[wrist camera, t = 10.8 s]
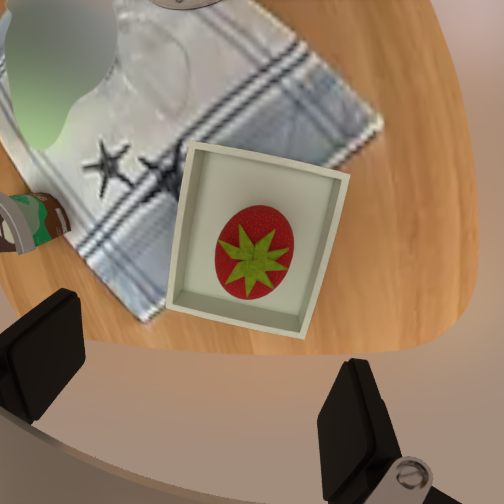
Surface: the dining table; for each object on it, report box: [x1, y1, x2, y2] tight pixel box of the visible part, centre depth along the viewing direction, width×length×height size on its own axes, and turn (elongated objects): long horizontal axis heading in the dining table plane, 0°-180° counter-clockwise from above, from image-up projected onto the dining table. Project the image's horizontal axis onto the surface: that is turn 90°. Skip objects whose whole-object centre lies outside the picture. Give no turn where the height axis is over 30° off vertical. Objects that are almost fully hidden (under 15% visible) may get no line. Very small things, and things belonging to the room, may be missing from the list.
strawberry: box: [215, 205, 294, 300], centre depth 24 cm, size 6×8×10 cm
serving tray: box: [166, 141, 351, 339], centre depth 28 cm, size 15×13×4 cm
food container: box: [0, 192, 71, 255], centre depth 26 cm, size 12×6×10 cm, turn 92°
